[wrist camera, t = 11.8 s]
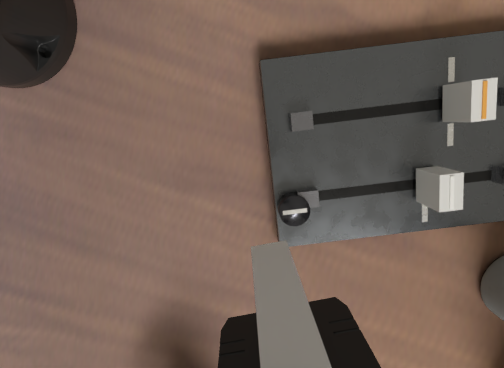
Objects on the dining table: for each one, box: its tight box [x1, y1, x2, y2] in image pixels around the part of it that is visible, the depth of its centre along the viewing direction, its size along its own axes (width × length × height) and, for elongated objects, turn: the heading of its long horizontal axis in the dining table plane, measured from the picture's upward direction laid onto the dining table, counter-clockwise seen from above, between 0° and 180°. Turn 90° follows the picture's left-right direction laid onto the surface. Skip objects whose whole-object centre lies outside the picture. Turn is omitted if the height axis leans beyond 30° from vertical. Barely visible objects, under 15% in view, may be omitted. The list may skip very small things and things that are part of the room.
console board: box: [259, 31, 504, 247], centre depth 36 cm, size 22×30×4 cm
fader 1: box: [416, 166, 464, 212], centre depth 34 cm, size 4×2×5 cm, turn 7°
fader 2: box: [442, 77, 498, 122], centre depth 32 cm, size 4×2×5 cm, turn 7°
